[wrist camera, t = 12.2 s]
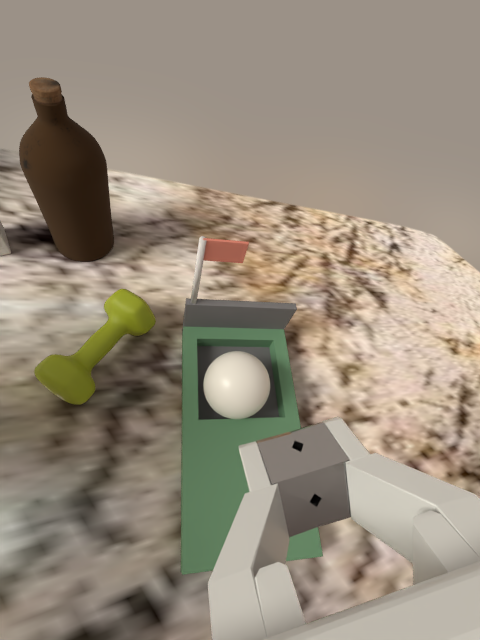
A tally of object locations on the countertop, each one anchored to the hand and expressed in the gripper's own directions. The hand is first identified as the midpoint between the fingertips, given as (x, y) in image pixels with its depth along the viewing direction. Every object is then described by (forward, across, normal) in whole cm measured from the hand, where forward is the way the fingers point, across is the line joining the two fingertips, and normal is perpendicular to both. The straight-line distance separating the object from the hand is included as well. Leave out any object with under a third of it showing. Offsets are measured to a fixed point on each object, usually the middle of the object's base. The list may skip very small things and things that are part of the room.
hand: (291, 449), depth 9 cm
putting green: (+32, 0, -23) cm, 39 cm away
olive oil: (+56, -18, +4) cm, 59 cm away
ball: (+32, +1, -16) cm, 36 cm away
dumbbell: (+40, -17, -11) cm, 45 cm away
